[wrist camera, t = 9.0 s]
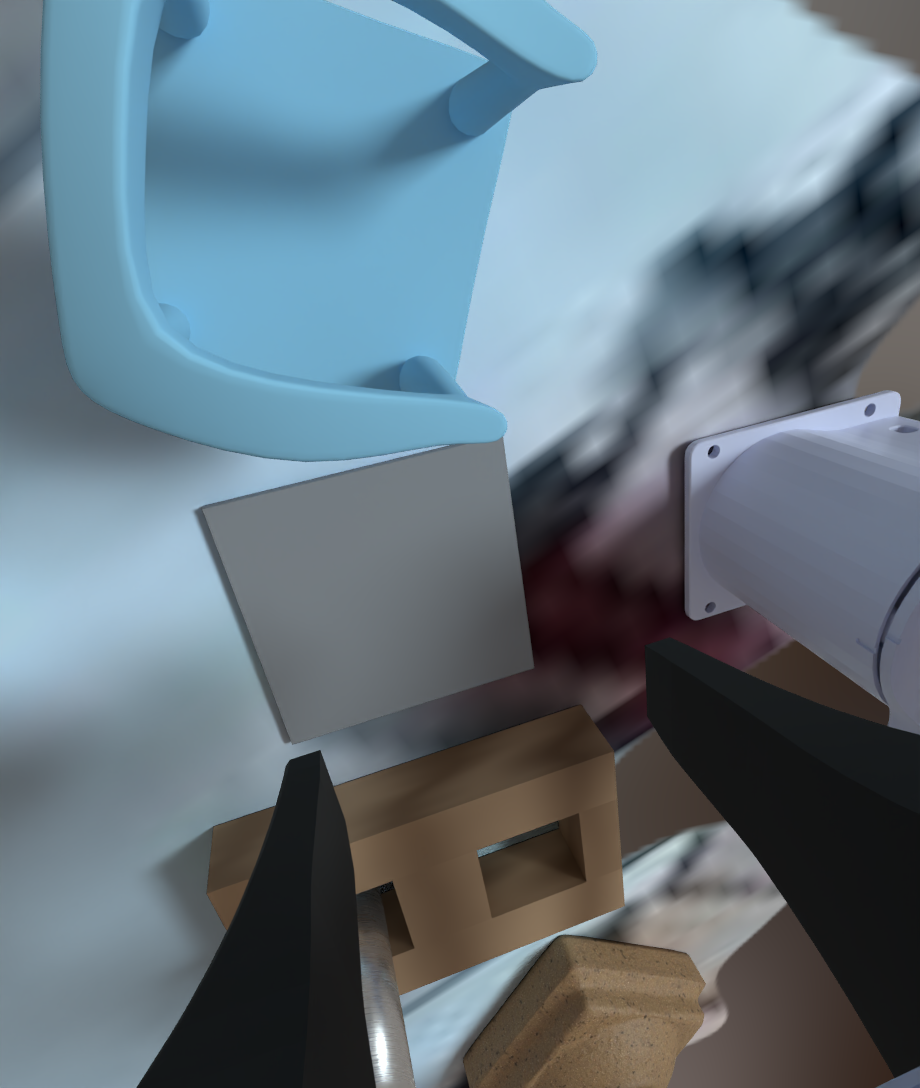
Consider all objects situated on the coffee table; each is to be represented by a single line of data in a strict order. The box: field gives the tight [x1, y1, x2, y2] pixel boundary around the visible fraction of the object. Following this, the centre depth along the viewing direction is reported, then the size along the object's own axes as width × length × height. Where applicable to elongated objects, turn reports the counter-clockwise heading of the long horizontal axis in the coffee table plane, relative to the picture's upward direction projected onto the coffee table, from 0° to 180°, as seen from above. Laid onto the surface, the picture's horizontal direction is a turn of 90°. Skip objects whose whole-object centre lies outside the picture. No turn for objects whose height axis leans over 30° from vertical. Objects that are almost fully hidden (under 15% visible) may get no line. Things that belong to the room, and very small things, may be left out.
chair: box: [40, 0, 597, 462], centre depth 12 cm, size 8×8×12 cm
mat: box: [202, 437, 534, 745], centre depth 23 cm, size 10×10×1 cm
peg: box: [356, 886, 416, 1088], centre depth 24 cm, size 3×3×9 cm
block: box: [207, 705, 625, 995], centre depth 27 cm, size 16×10×3 cm, turn 100°
